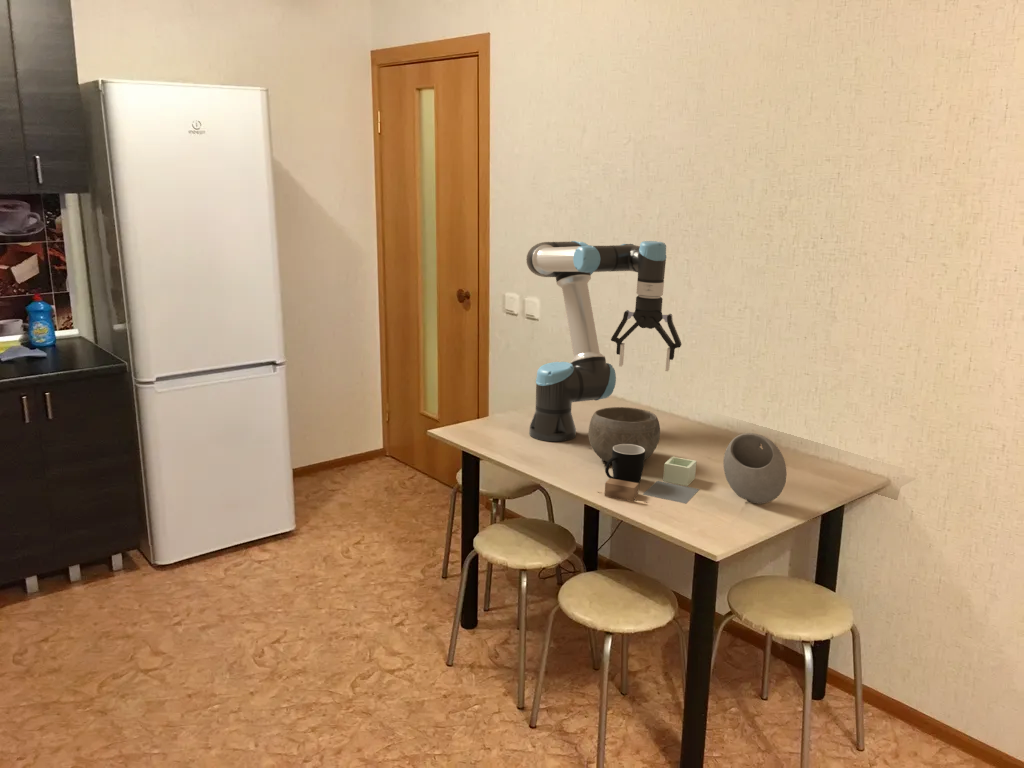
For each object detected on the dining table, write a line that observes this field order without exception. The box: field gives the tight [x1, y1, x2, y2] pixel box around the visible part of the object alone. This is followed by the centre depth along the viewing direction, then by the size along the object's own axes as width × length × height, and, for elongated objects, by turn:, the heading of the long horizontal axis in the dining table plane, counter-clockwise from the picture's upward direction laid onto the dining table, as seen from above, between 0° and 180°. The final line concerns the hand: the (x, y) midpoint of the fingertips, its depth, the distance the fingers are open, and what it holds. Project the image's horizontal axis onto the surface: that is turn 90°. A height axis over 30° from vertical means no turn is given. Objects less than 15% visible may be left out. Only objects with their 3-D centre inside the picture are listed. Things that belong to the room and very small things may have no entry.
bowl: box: [587, 406, 661, 463], centre depth 252 cm, size 21×21×15 cm
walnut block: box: [604, 478, 640, 503], centre depth 226 cm, size 8×4×4 cm, turn 65°
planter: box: [722, 432, 788, 504], centre depth 223 cm, size 18×7×19 cm, turn 42°
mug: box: [604, 444, 646, 484], centre depth 234 cm, size 12×9×10 cm
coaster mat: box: [642, 480, 700, 504], centre depth 229 cm, size 12×12×1 cm
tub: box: [662, 456, 697, 487], centre depth 237 cm, size 7×7×6 cm
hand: (644, 367), depth 249 cm, fingers open, 13 cm apart
